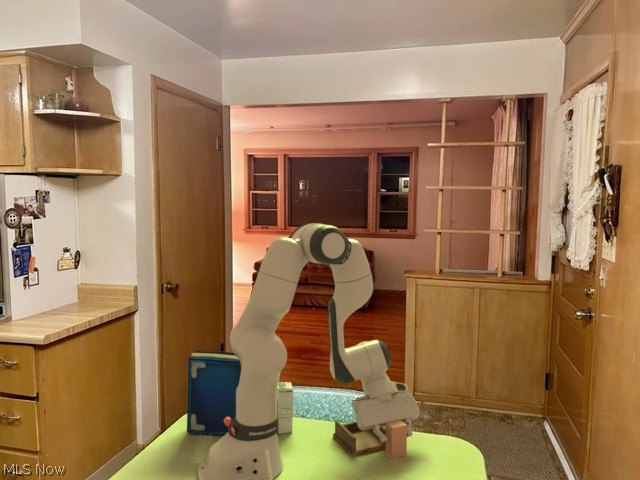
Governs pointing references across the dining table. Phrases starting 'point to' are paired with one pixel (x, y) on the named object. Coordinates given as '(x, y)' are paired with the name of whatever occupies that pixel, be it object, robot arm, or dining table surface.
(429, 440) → the dining table surface
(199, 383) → the book
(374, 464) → the dining table surface
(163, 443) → the dining table surface
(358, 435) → the walnut slot rack
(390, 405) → the robot arm
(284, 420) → the syrup box
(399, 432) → the terracotta block
